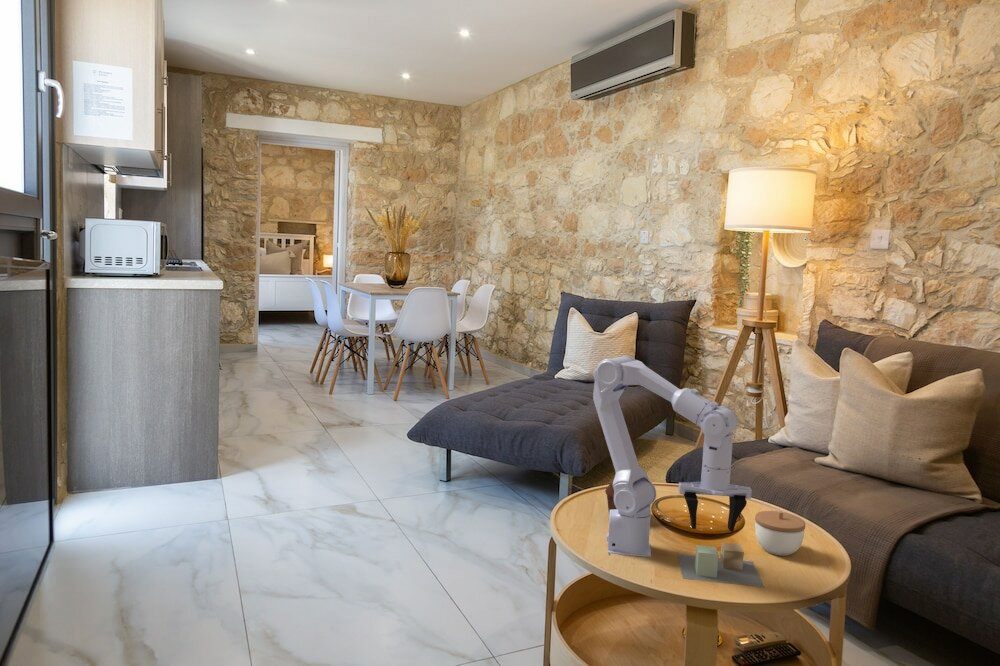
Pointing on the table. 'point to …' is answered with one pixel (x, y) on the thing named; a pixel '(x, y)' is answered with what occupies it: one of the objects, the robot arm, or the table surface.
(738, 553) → the beech cube
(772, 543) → the lidded jar
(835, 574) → the table surface
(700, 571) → the green block
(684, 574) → the slate mat
